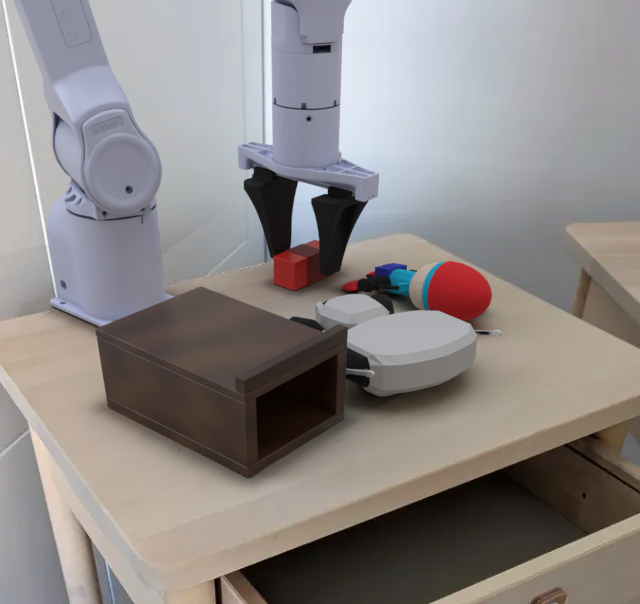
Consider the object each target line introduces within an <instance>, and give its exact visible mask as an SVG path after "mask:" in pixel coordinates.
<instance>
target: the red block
mask: <svg viewBox="0 0 640 604" xmlns="http://www.w3.org/2000/svg"><path fill="white" fill-rule="evenodd" d="M272 259H273V284H274V285H277V286H280V287H282V288H285V289H287V290H291V291H294V292H295V291H298V290H300V289H302V288H305V287H308V286H310V285H313V284H315V283H317V282H320V281H323V280H324V278H327V277H328V276H324V275H321V271H320V265H319V239H318V240H317V239H313V240H310V241H307V242H305V243H301V244H297V245H296V246H292V247H290V249H288V250H286V251H285V252H283V253H280V254H278V255H275V256H274V257H273V258H272Z"/></svg>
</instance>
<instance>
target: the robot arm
mask: <svg viewBox="0 0 640 604" xmlns="http://www.w3.org/2000/svg"><path fill="white" fill-rule="evenodd" d="M12 1H13V3H14V6H15V9H16V11H17V14H18V17H19V19H20V22H21V24H22V27H23V30H24V32H25V35H26V37H27V40H28V43H29V45H30V48H31V51H32V53H33V56H34V58H35V61H36V63H37V66H38V69H39V72H40V74H41V78H42V86H43V96H44V101H45V102H46V105H47V108H48V111H49V115H50V119H51V137H50V142H51V150H52V154H53V156H54V158H55V161H56V163H57V164H58V166H59V167H60V169H61V170H62V171H63V172H64V173H65V174H66V175H67V176H68V177H70V179H69V180H70V181H69V183H68V185H67V188H66V191H65V194H63V195H60V197H59V198H57V199H56V200H55V202H53V204H52V206H51V208H49V209H50V210H49V212H48V215H47V218H46V227H45V229H46V230H45V232H46V238H47V243H48V244H47V245H48V249H49V255H50V260H51V265H52V271H53V276H54V281H55V287H56V292H57V296H56V297H53V298H51V299H50V300H49V302H50V306H52V307H53V308H56V309H58V310H61V311H63V312H66V313H68V314H70V315H72V316H73V317H76V318H78V319H81V320H83V321H85V322H88V323H90V324H93V325H95V326H96V327H101V326H103V325H106V324H108V323H111V322H113V321H116V320H118V319H121V318H123V317H126V316H128V315H131V314H133V313H136V312H138V311H141V310H143V309H146V308H148V307H151V306H153V305H156V304H158V303H161V302H163V301H165V300H168V299H170V298H173V297H175V296H174V295H172V294H169V293H167V292H166V285H165V276H164V264H163V256H162V244H161V236H160V225H159V216H158V215H159V214H158V206H157V205H158V204H157V193H158V191H159V188H160V187H161V183H162V177H163V166H162V160H161V157H160V153H159V150H158V149H157V147H156V145H155V143H154V142H153V140H151V139H150V137H149V136H148V135H147V133H145V132H144V131H143V130H142V129H141V128H140V126H139V124H138V122H137V120H136V118H135V116H134V112H133V110H132V107H131V104H130V101H129V99H128V97H127V95H126V94H125V91H124V89H123V88H122V86H121V84H120V82H119V81H118V79H117V76H116V75H115V73H114V71H113V69H112V67H111V65H110V63H109V59H108V56H107V53H106V51H105V47H104V45H103V41H102V38H101V35H100V32H99V29H98V26H97V22H96V20H95V17H94V14H93V10H92V8H91V4H90V1H89V0H12ZM352 2H353V0H271V1H270V28H271V29H270V34H271V36H270V49H271V50H270V53H271V54H270V55H271V56H270V57H271V125H272V126H271V127H272V144H269V143H261V142H256V141H250V142H246V143H242V144H239V145H237V161H238V163H237V164H238V165H237V167H238V168H239V169H241V170H245V171H249V170H251V169H252V170H253V174H251V177H249V178H246V179H244V180H243V190H244V192H245V193H246V195H247V196H248V198H249V200H250V201H251V203H252V205H253V207H254V209H255V212H256V214H257V216H258V219H259V221H260V224H261V228H262V231H263V234H264V237H265V241H266V246H267V249H268V253H269V257H270V259H273V257H274V256H275V255H278V254H280V253H283V252H285V251H286V250H288V249H290V248H292V247H291V246H292V234H293V233H292V231H293V230H292V229H293V228H292V227H293V212H294V203H295V198H296V193H297V188H298V184H299V183H304V184H307V185H311V186H315V187H318V188H323V189H325V190H327V193H323V194H320V195H318V196H314V197H312V198H310V204H311V207H312V211H313V213H314V217H315V222H316V227H317V234H318V241H319V265H320V271H321V275H324V276H327V277H329V276H331V275H334V274H336V273H339V272H341V268H342V264H343V260H344V257H345V253H346V250H347V246H348V243H349V241H350V238H351V235H352V234H353V230H354V228H355V226H356V224H357V222H358V220H359V218H360V216H361V214H362V212H363V211H364V209H365V208H366V206H367V204H369V201H370V200H373V199H376V198H378V197H379V183H380V173H379V172H376V171H373V170H370V169H367V168H365V167H363V166H360V165H358V164H356V163H354V162H352V161H350V160H348V159H346V158H343V157H342V152H341V150H340V127H341V126H340V124H341V122H340V121H341V93H342V64H343V63H342V62H343V61H342V60H343V34H344V33H345V32H344V30H345V29H344V28H345V27H344V26H345V16H346V13H347V11H348V9H349V6H350V5H351V4H352Z"/></svg>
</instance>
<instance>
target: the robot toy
mask: <svg viewBox="0 0 640 604" xmlns="http://www.w3.org/2000/svg"><path fill="white" fill-rule="evenodd" d="M314 308H315V311H314V312H315V319H312V318H307V317H301V316H296V315H295V316H294V315H293V316H291V317H290V318H288V319H289V320H292V321H295V322H297V323H300V324H303V325H305V326H308V327H311V328H313V329H316V330H319V331H321V332H324V331H326V330H328V329H330V328H332V327H334V326H336V325H338V324H341V325H344V326H346V327H348V338H347V361H346V380H347V381H349V382H350V383H353V384H355V385H356V386H358V387H359V388H362V389H363V390H365V392H367V393H369V394H372V395H374V396H377V397H390V396H393V395H396V394H402V393H404V394H405V393H410V392H415V391H419V390H420V391H421V390H424V389H427V388H432V387H435V386H439V385H442V384H443V383H446V382H448V381H450V380H452V379H454V378H456V377H458V376H459V375H460V374H462V373H463V372H465V371H466V370H468V369H469V368H470V367H472V366H473V365H474V362H475V361H476V357H477V356H476V355H477V344H478V336H479V335H481V336H492V337H499V336H501V335H502V334H503V333H502V332H501V331H502V330H500V329H493V330H487V329H486V330H485V329H483V330H482V329H474V327H473V326H472V324H471V323H469V322H468V321H462V320H460V319H457V318H455V317H452V316H450V315H447V314H445V313H443V312H440V311H427V310H420V309H417V310H408V311H401V312H395V309H394V304H393V301H392V300H391V298H390V296H388V295H387V294H384V293H375V294H372V295H367V294H365V293H349V294H343V295H339V296H334V297H333V298H329V299H327V300H326V301H323V302H322V301H321V300H319V301H318V302H316V303H315V304H314Z"/></svg>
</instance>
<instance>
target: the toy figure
mask: <svg viewBox="0 0 640 604" xmlns="http://www.w3.org/2000/svg"><path fill="white" fill-rule="evenodd" d="M364 276H365V277H366V278H365V277H362V278H359V279H354V280H351V281H347V282H346V283H344V284H343V285H342V286H341V289H343V290H344V291H347V292H356V291H358V290H359V291H360V292H363V293H368V294H369V293H372V292H374V291H376V292H377V291H381V290H385V291H388V293H390V294H396V295H400V296H405V297H409V298H410V300H411V303H412V304H413V305H414V307H415V308H417V310H427V311H440V312H443V313H445V314H447V315H450V316H452V317H455V318H457V319H460V320H462V321H464V322H469V321H471V320H475V319H477V318H478V317H480V316H481V315H482V314H484V313H485V312H486V311H487V309H489V307H490V305H491V303H492V300H493V292H492V287H491V285H490V284H489V282H488V280H487V278H486V277H485V276H484V275H483V274H482V273H481V272H479V271H478V270H477V269H475V268H474V267H473V266H469V265H468V264H465V263H463V262H457V261H453V260H448V261H441V262H439V261H438V262H430V263H427V264H425V265H423V266H421V267H420V268H418V270H416V269H408V265H407V264H402V263H397V262H389V263H385V264H382V265H377V266H374V271H371V272H368V273H366V274H365V275H364Z"/></svg>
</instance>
